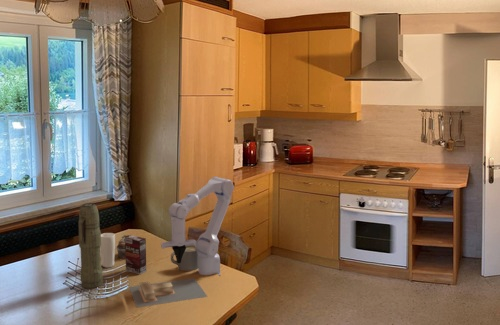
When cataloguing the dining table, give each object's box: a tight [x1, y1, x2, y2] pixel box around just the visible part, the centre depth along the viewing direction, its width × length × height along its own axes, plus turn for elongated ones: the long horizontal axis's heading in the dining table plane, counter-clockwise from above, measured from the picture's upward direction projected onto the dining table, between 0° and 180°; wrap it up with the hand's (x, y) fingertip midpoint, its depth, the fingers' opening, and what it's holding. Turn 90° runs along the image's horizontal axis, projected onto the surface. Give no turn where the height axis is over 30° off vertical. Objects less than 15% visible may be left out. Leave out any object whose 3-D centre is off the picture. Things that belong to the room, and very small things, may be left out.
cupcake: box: [116, 234, 132, 260], centre depth 250 cm, size 10×10×10 cm
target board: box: [128, 277, 208, 308], centre depth 207 cm, size 28×20×1 cm
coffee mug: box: [170, 245, 198, 272], centre depth 234 cm, size 13×10×10 cm
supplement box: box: [125, 234, 147, 275], centre depth 229 cm, size 9×5×16 cm, turn 62°
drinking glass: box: [100, 232, 116, 268], centre depth 236 cm, size 7×7×15 cm
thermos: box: [77, 202, 103, 290], centre depth 212 cm, size 9×12×35 cm
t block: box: [139, 280, 173, 302], centre depth 205 cm, size 12×12×3 cm
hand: (178, 262), depth 216 cm, fingers closed
